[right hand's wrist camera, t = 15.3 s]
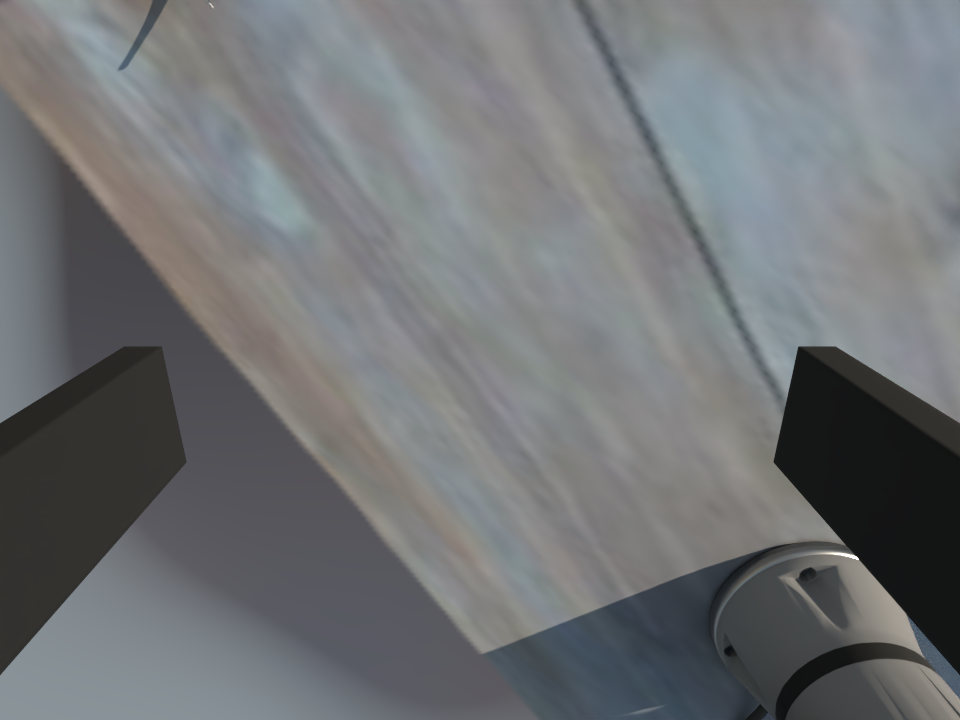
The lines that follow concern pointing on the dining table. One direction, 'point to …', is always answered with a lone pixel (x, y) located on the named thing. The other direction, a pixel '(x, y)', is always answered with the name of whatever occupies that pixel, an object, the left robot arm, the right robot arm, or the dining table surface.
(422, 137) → the dining table surface
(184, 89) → the dining table surface
